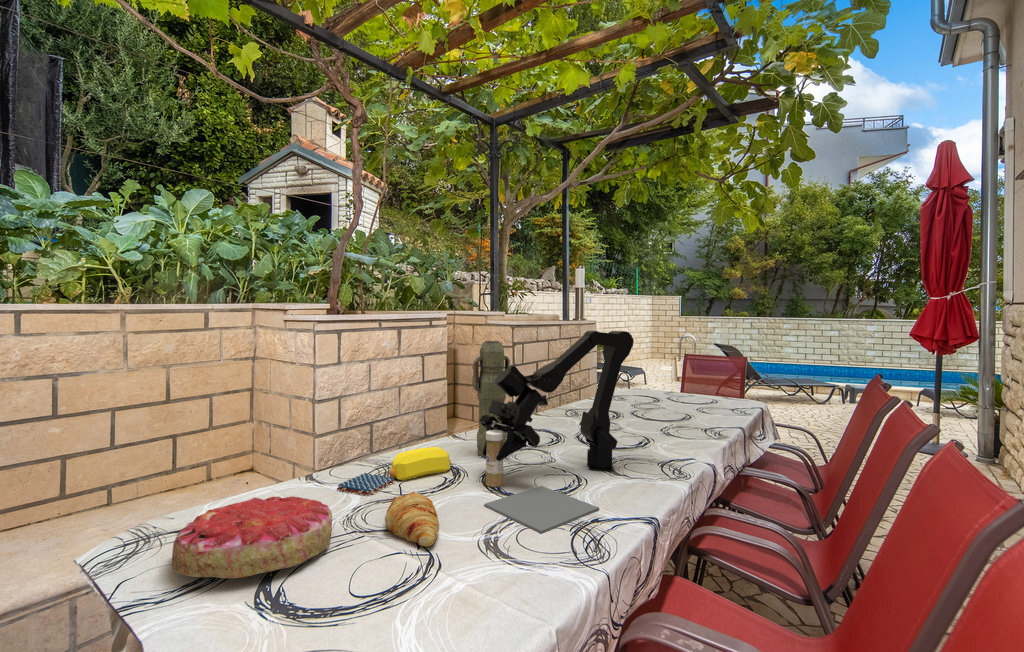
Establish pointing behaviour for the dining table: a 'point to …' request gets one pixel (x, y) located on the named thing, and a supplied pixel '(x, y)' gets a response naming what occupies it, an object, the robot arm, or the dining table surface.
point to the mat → (541, 508)
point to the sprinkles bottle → (494, 458)
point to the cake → (252, 537)
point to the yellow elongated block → (419, 463)
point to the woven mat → (365, 484)
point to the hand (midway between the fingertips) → (490, 457)
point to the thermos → (488, 384)
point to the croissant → (413, 519)
